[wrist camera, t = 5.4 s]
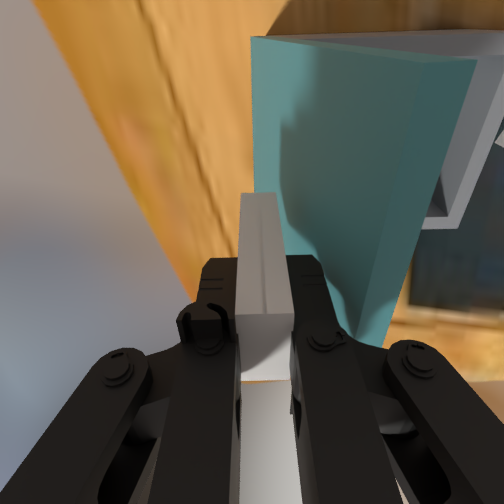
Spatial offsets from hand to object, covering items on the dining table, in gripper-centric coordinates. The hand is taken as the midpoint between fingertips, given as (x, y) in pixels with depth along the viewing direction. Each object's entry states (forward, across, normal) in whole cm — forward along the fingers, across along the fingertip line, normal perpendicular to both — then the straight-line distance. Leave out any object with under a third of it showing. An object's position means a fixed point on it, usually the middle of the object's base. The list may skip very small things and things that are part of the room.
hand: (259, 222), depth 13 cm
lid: (+1, -2, 0) cm, 3 cm away
